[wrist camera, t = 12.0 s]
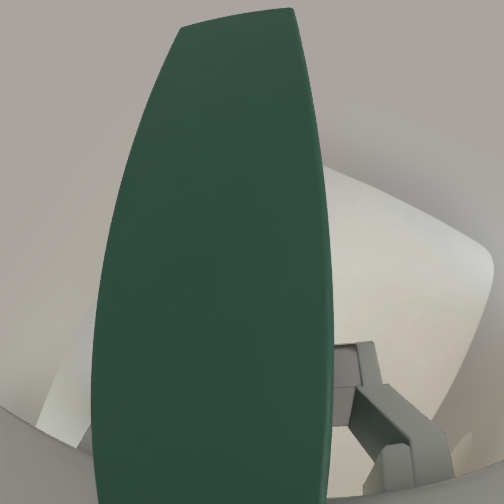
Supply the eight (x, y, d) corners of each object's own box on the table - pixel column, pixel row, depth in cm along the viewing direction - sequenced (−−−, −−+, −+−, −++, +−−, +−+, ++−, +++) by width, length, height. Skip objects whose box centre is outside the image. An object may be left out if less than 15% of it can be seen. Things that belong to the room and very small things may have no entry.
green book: (315, 247, 17) (293, 6, 4) (316, 405, 14) (312, 584, 1) (273, 249, 18) (179, 26, 5) (270, 405, 15) (102, 536, 2)
